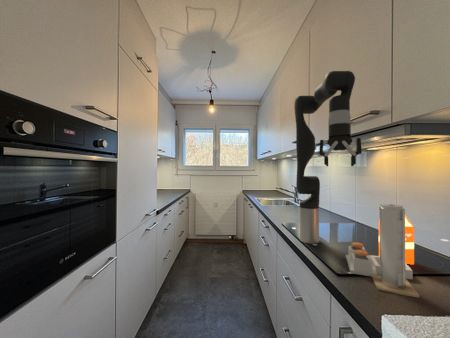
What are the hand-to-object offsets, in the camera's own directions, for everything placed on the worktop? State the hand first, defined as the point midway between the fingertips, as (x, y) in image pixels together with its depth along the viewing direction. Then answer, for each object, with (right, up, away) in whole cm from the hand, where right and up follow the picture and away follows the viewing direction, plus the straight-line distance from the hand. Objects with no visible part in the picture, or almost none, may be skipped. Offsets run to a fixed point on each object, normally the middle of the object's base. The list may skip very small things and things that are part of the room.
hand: (339, 166), depth 85 cm
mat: (+9, -38, -15) cm, 42 cm away
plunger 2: (+5, -36, -5) cm, 37 cm away
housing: (+12, -38, -3) cm, 40 cm away
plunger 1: (+9, -36, +4) cm, 37 cm away
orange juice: (+25, -38, +5) cm, 46 cm away
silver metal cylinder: (+9, -38, -14) cm, 41 cm away
